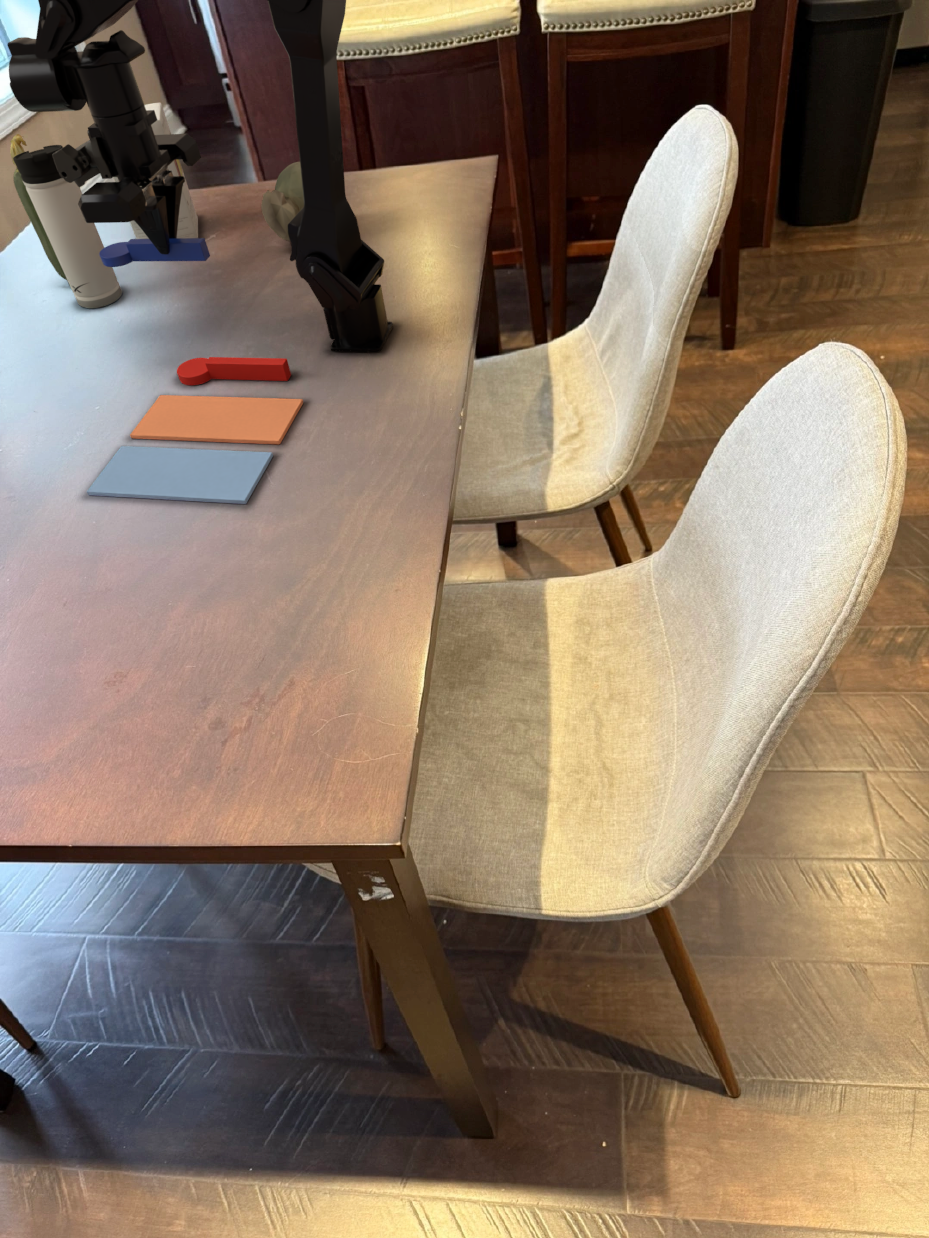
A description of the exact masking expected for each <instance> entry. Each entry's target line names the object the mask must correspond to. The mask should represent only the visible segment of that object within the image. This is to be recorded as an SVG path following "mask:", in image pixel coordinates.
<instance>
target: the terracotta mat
mask: <svg viewBox="0 0 929 1238" xmlns="http://www.w3.org/2000/svg"><path fill="white" fill-rule="evenodd" d="M303 404H304V399H303V398H278V397H277V398H276V397H275V398H274V397H246V396H245V397H243V396H211V395H209V396H207V395H176V394H175V395H173V394H160V395H159V396H158V397H157V399H156V400H155V401H154V403H153V404H152V405H151V406H150V407H149V409H148V410H147V412H146V413H145V414H144V416H143V417H142V418H141V419H140V421H139V422H138V423H137V425H136V426H135V427H134V429H133V430H132V431H131V432H130V434H129V436H130V438H131V439H137V440H158V441H159V440H162V441H183V442H184V441H185V442H188V441H189V442H209V443H210V442H211V443H234V444H235V443H236V444H258V445H281V443H282V442H283V439H284V438H285V436H286V435H287V432H288V431H289V429H290V428H291V425H292V424H293V422H294V420H295V418H296V417H297V415H298V413H299V412H300V409H301V408H302V406H303Z"/></svg>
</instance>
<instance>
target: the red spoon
mask: <svg viewBox="0 0 929 1238" xmlns="http://www.w3.org/2000/svg"><path fill="white" fill-rule="evenodd" d="M290 368H291V367H290V365H289V362H288V358H283V357H276V358H275V357H231V356H230V357H229V356H227V357H225V356H209V357H195V358H191V359H188V360H185V361H184V362H182V363H181V364H180V365H178V367H177V369H176V374H177V377H178V379H179V381H180V383H181V384H182V385H184V386H191V387H192V386H199V385H202V384H205V383H207V382H209V381H211V380H232V381H234V380H235V381H269V382H271V381H274V382H288V381H289V379H290V378H291V376H292V372H291V369H290Z"/></svg>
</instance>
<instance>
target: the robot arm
mask: <svg viewBox="0 0 929 1238" xmlns="http://www.w3.org/2000/svg"><path fill="white" fill-rule="evenodd" d="M138 1H139V0H37V2H38V6H39V15H38V21H37V29H36V37H35V38H32V37H27V36H21V37H17V38H15V39H13V40H10V41H8V42H7V48H8V51H9V52H10V55H11V56H10V60H9V63H8V74H9V75H8V77H9V81H10V82H9V88H10V90H11V92H12V94H13V96H14V98H15V99H16V100H17V102H18V103H19V104H20V106H22V107H23V108H24V109H25V110H26V111H28V112H31V113H48V112H49V113H50V112H51V113H52V112H53V113H54V112H76V111H77V112H78V111H81V110H83V109H84V108H85V106H86V105H87V107H88V110H89V113H90V116H91V119H92V121H93V123H92V124H91V125H90V126H88V127H87V132H86V133H87V136H88V138H89V140H87V141H85V142H84V143H82V144H80V145H79V146H77V147H76V148H75V147H74V146H72V145H70V144H69V143H68V144H65V146H63V148H62V149H59V150H58V151H56V152H55V153H54V154H52V156H53V159H54V162H55V165H56V168H57V170H58V172H59V175H60V176H61V177H62V178H63V179H64V180H65V181H66V182H69V183H72V182H73V181H74V182H75V183H76V185H77V186H78V187H80V188H81V187H83V186H84V185H86V182H88V181H89V180H91V179H93V178H95V177H96V176H98V175H99V174H100V177H101V179H102V180H109V179H111V180H112V179H114V178H113V177H117V178H118V180H121V181H119V182H115V181H105V182H103V181H102V182H101V181H100V182H95V183H94V184H93V185H92V186H91V187H89V188H88V189H86V191H84V192H82V195H81V197H80V200H79V202H78V206H79V208H80V210H81V213H82V215H83V218H84V220H85V222H86V223H94V224H106V223H107V224H111V223H116V224H117V223H130V221H133V220H134V221H135V222H136V223H137V224H138V226H139V227H140V228H141V229H142V230H143V232H144V233H145V234H146V236H147V237H148V238H149V239H150V241H151V242H152V243H153V245H154V246H155V247H156V249H157V250H158V251H159V252H160V253H161V254H169V253H170V243H169V239H174V238H177V229H178V218H179V209H180V202H181V194H182V187H183V183H184V182H185V179H186V177H185V178H184V176H185V175H184V176H173V173H172V171H169V168H168V166H169V165H170V164H171V163H172V162H173V161H174V160H176V159H179V160H181V161H182V162H183V163H184V164H185V165H186V166H187V167H193V166H195V164H197V162H199V160H201V158H202V156H201V153H200V149H199V145H198V142H197V141H196V140H195V139H194V138H193V137H192V136H190V135H189V134H188V133H171V134H166V135H154V132H153V129H152V126H151V125H152V124H153V123H154V122H156V121H157V117H156V114H155V111H154V110H146V108H145V105H146V104H145V103H144V100H143V97H142V94H141V90H140V87H139V85H138V82H137V79H136V76H135V74H134V70H133V67H132V64H131V62H133V61H134V60H136V59H137V58H139V57H141V56H142V55H144V54H145V52H146V49H145V46H144V45H142V44H141V43H139V42H138V41H137V40H134V39H133V38H131V37H130V36H129V35H128V34H126V32H125V31H123V30H122V29H120V30H118V31H116V32H114V33H113V34H111V35H110V36H109V39H108V40H95V41H90V42H88V43H87V44H86V45H85V47H84V48H83V50H81V51H78V50H77V48H76V47H77V46H78V45H80V44H82V43H84V42H86V41H88V40H90V39H91V38H93V37H95V36H96V35H97V34H99V33H101V32H103V31H105V30H107V29H109V28H111V27H112V26H113V25H115V24H116V23H117V22H118V21H120V20H121V19H122V18H123V17H124V16H125V15H126V14H128V12H130V11H131V10H132V9H133V7H135V5H136V4H137V3H138ZM267 4H268V8H269V12H270V16H271V20H272V25H273V28H274V31H275V32H276V34H277V36H278V38H279V39H280V42H281V43H282V45H283V47H284V49H285V51H286V54H287V56H288V60H289V67H290V76H291V77H290V79H291V87H292V96H293V98H292V99H293V108H294V118H295V127H296V137H297V147H298V157H299V162H300V168H301V178H302V188H303V198H304V207H303V208H302V209H301V210H300V211H299V213H298V214H297V215H296V216H295V217H294V218H293V219H292V220H291V221H290V223H289V224H288V235H289V239H290V241H289V243H290V246H291V251H290V257H289V261H290V262H294V261H295V268H296V271H297V273H298V276H299V277H300V278H301V279H303V280H304V281H305V283H307V285H308V286H309V288H310V289H311V291H312V293H313V294H314V296H315V298H316V299H317V301H318V303H319V305H320V306H321V308H322V309H323V315H324V318H325V322H326V327H327V331H328V337H329V338H330V340H332V342H331V344H330V346H329V348H330V349H329V350H330V352H348V353H349V352H350V353H351V352H352V353H353V352H354V353H355V352H357V353H379V352H381V351H382V350H383V348H384V346H385V344H386V342H387V340H388V338H389V336H390V334H391V332H392V329H394V323H393V322H392V321H388V317H387V310H386V305H385V299H384V295H383V289H382V285H381V284H376V283H377V282H378V280H379V278H381V277H382V275H383V272H384V266H385V259H384V258H383V257H382V256H381V255H380V254H378V252H377V251H375V250H374V249H373V248H372V247H370V245H368V243H366V242H365V241H364V240H363V239H362V238H361V231H360V228H359V224H358V220H357V216H356V214H355V213H354V211H353V208H352V207H351V205H350V203H349V202H348V199H347V195H346V183H345V182H346V181H345V168H344V167H345V166H344V149H343V135H342V120H341V104H340V89H339V72H338V58H337V55H338V54H337V53H338V46H339V43H340V39H341V33H342V29H343V24H344V21H345V20H344V19H345V16H346V15H345V14H346V8H347V0H267Z"/></svg>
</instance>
